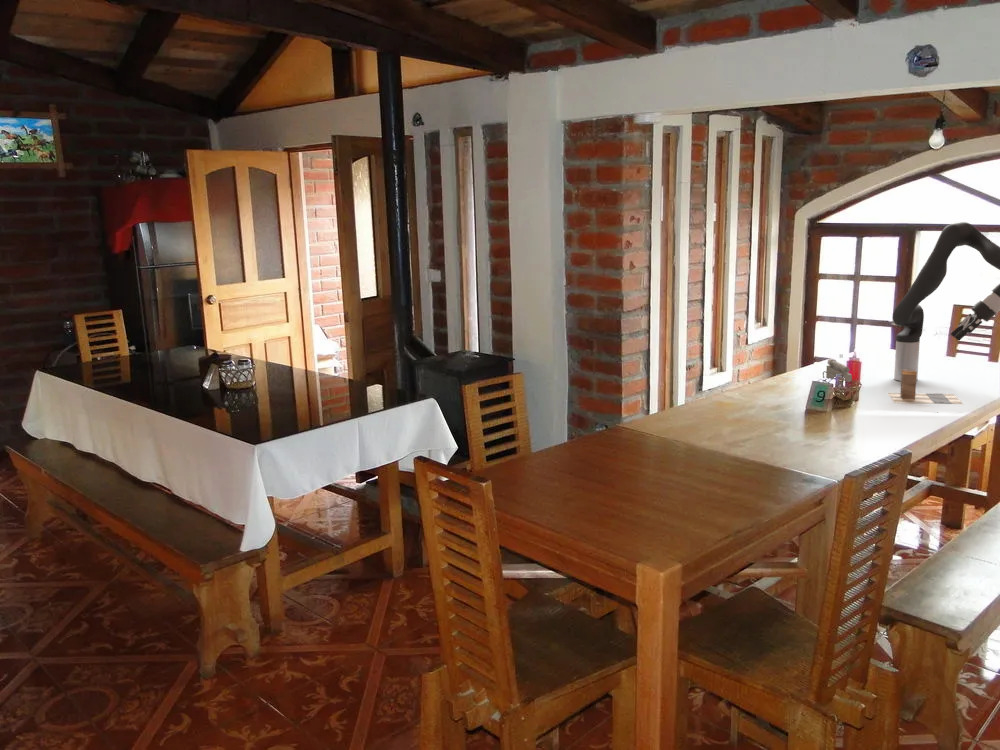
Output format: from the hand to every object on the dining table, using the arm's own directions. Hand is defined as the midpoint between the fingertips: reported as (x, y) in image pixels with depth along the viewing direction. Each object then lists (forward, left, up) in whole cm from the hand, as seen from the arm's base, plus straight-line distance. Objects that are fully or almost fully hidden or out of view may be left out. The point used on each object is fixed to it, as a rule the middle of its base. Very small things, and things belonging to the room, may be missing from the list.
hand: (954, 337), depth 317 cm
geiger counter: (-11, -41, -26) cm, 50 cm away
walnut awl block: (0, -15, -24) cm, 29 cm away
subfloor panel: (0, -9, -26) cm, 27 cm away
